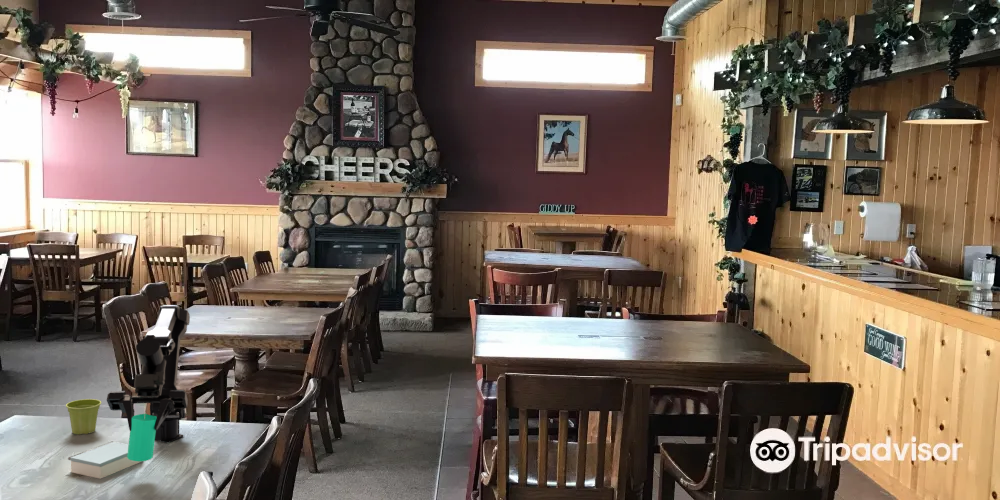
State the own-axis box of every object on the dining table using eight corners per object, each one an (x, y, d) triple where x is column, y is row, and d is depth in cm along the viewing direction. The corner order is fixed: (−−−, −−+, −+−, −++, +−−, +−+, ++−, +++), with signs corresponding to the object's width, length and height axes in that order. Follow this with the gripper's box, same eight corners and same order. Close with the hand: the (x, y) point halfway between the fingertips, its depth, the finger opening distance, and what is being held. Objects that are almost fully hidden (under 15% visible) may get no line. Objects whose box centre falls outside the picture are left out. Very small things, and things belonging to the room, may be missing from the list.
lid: (111, 443, 213) (111, 441, 213) (142, 449, 210) (142, 447, 210) (68, 460, 200) (68, 457, 200) (99, 466, 197) (99, 463, 196)
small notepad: (114, 455, 213) (114, 444, 213) (142, 461, 210) (142, 450, 210) (71, 472, 200) (71, 461, 200) (100, 478, 197) (100, 467, 197)
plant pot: (108, 429, 234) (108, 401, 234) (82, 438, 226) (82, 409, 225) (85, 425, 237) (84, 397, 237) (58, 433, 229) (58, 405, 228)
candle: (143, 463, 194) (148, 416, 193) (121, 458, 195) (127, 412, 194) (157, 455, 200) (162, 410, 199) (137, 451, 201) (142, 406, 200)
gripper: (108, 360, 197) (96, 416, 187) (186, 359, 201) (178, 414, 192) (116, 382, 205) (105, 436, 196) (190, 381, 210) (183, 434, 200)
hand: (143, 429), depth 196 cm, fingers closed on candle, 6 cm apart
